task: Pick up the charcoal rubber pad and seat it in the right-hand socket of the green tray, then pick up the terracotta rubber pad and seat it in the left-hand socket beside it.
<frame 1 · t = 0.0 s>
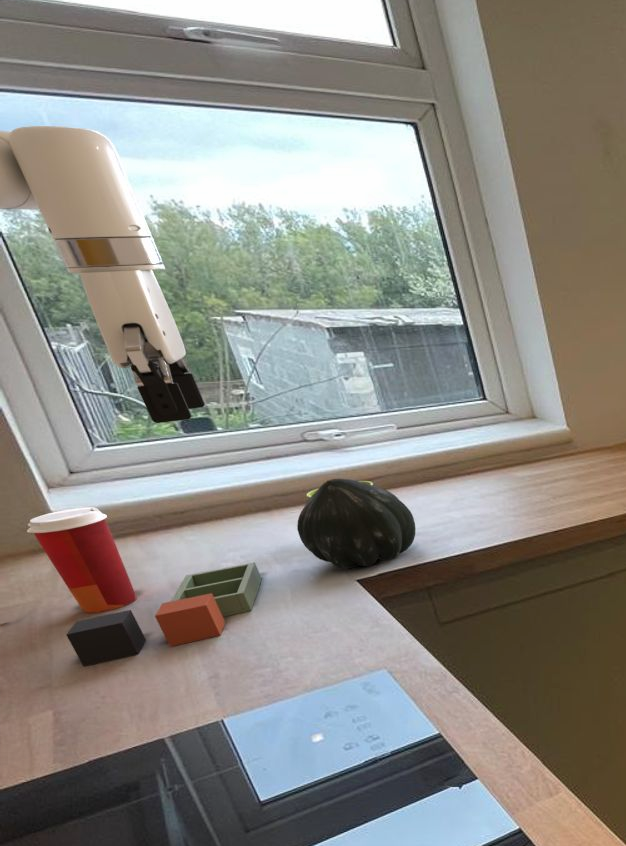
hand: (181, 414, 94), 30 cm above the worktop, tool pointing down, fingers open, 9 cm apart
pad terracotta: (198, 634, 108), on the worktop
plant pot: (357, 536, 145), on the worktop
squash: (371, 560, 133), on the worktop
paper cup: (110, 605, 119), on the worktop
green tray: (221, 601, 119), on the worktop
pad charcoal: (115, 653, 104), on the worktop
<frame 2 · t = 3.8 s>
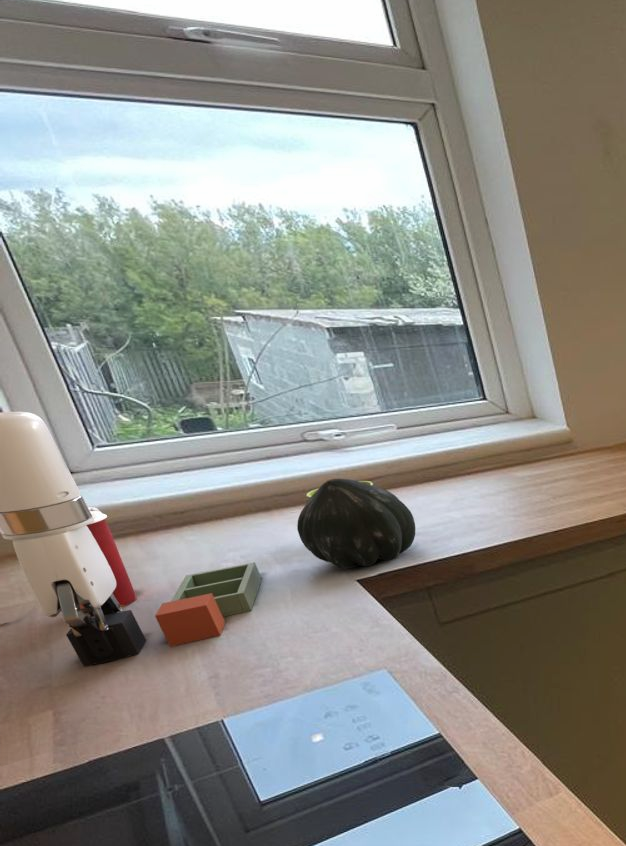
hand: (114, 650, 104), 0 cm above the worktop, tool pointing down, fingers closed on pad charcoal, 5 cm apart
pad charcoal: (115, 653, 104), on the worktop, touching gripper
everything else where it was.
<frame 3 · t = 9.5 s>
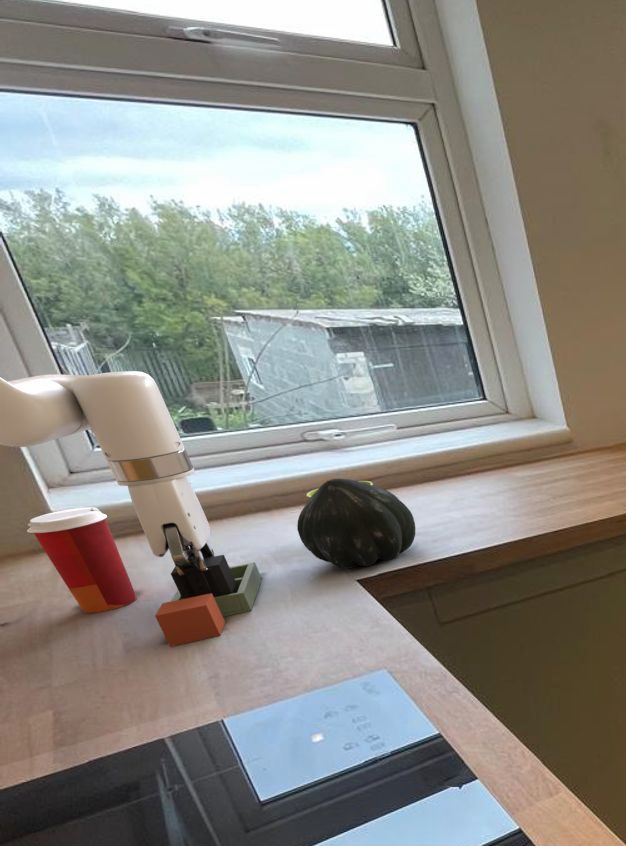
hand: (209, 590, 115), 3 cm above the worktop, tool pointing down, fingers closed on pad charcoal, 5 cm apart
pad charcoal: (211, 593, 115), point 3 cm above the worktop, touching gripper
everything else where it was.
when the fingers open (3 cm above the worktop, at t = 13.0 s): pad charcoal drops 2 cm, resting on green tray.
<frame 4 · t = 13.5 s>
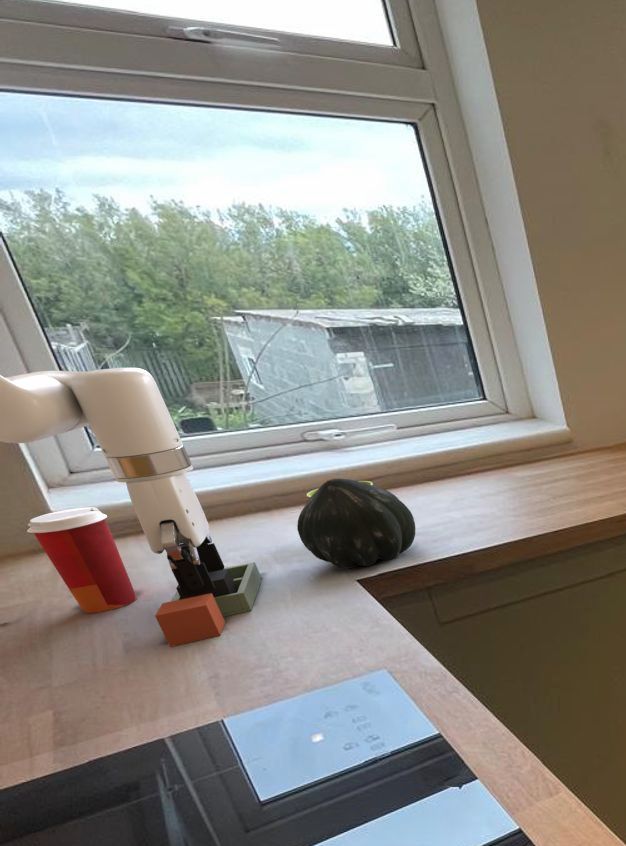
hand: (205, 581, 114), 4 cm above the worktop, tool pointing down, fingers open, 9 cm apart
pad charcoal: (216, 606, 116), resting on green tray
everything else where it was.
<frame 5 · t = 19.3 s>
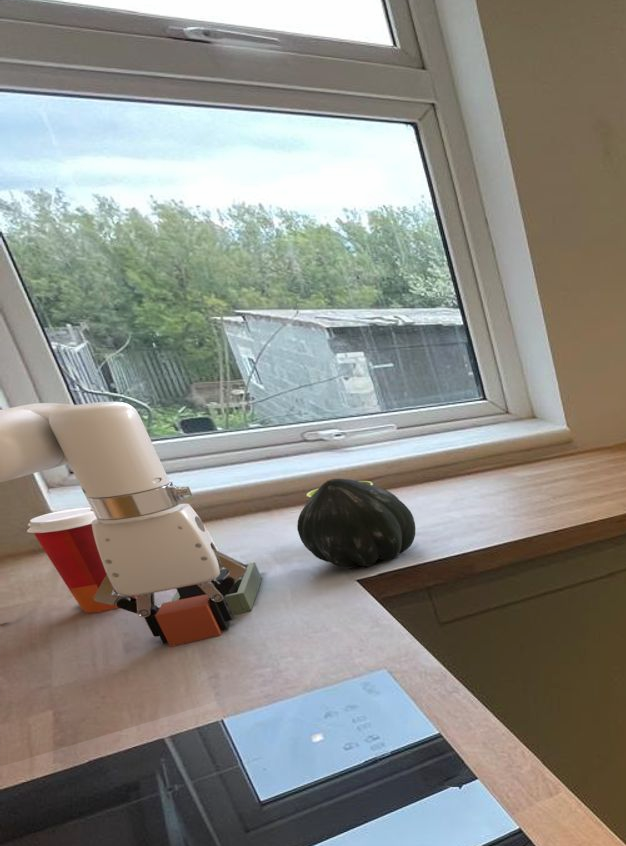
hand: (197, 631, 108), 0 cm above the worktop, tool pointing down, fingers closed on pad terracotta, 5 cm apart
pad terracotta: (198, 634, 108), on the worktop, touching gripper
everything else where it was.
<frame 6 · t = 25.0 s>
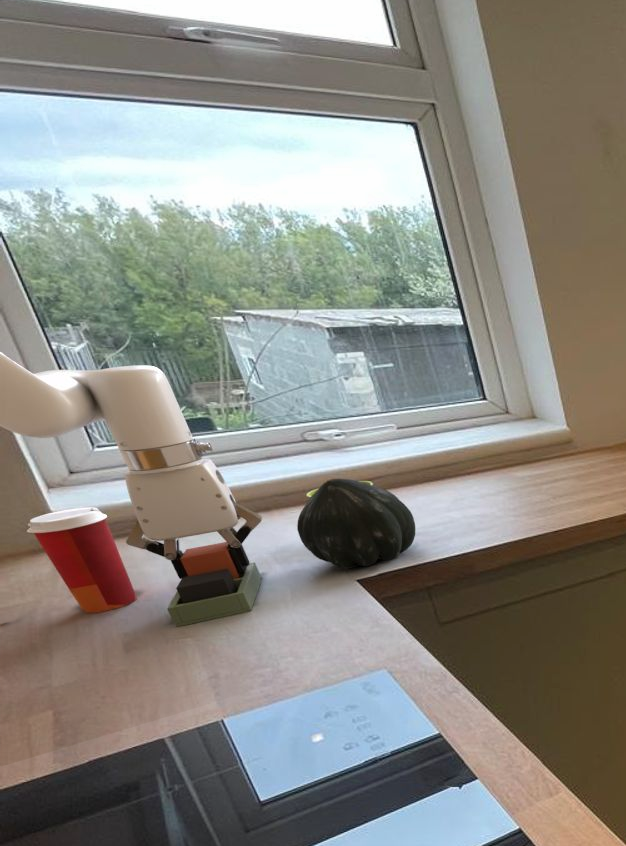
hand: (217, 575, 120), 3 cm above the worktop, tool pointing down, fingers closed on pad terracotta, 5 cm apart
pad terracotta: (218, 577, 120), point 3 cm above the worktop, touching gripper
everything else where it was.
when the fingers open (3 cm above the worktop, at t = 28.4 s): pad terracotta drops 2 cm, resting on green tray.
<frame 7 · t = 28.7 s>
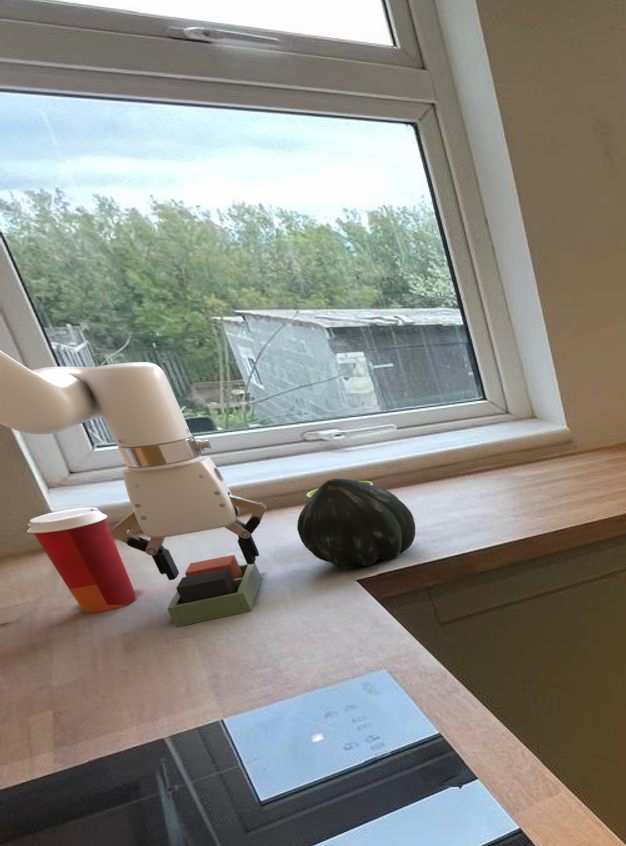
hand: (213, 568, 120), 4 cm above the worktop, tool pointing down, fingers open, 8 cm apart
pad terracotta: (222, 591, 121), resting on green tray
everything else where it was.
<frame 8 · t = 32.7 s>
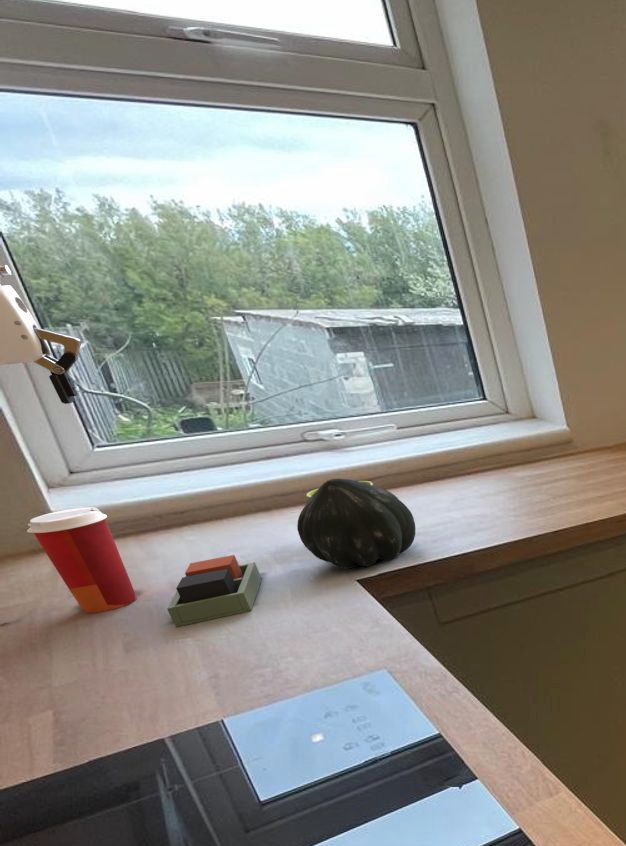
hand: (19, 407, 112), 28 cm above the worktop, tool pointing down, fingers open, 9 cm apart
nothing on the worktop moved.
at the end: pad charcoal 0.1 cm from the target spot in the green tray, point 0.4 cm above the green tray's base; pad terracotta 0.1 cm from the target spot in the green tray, point 0.4 cm above the green tray's base; pad terracotta tilted 0° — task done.
